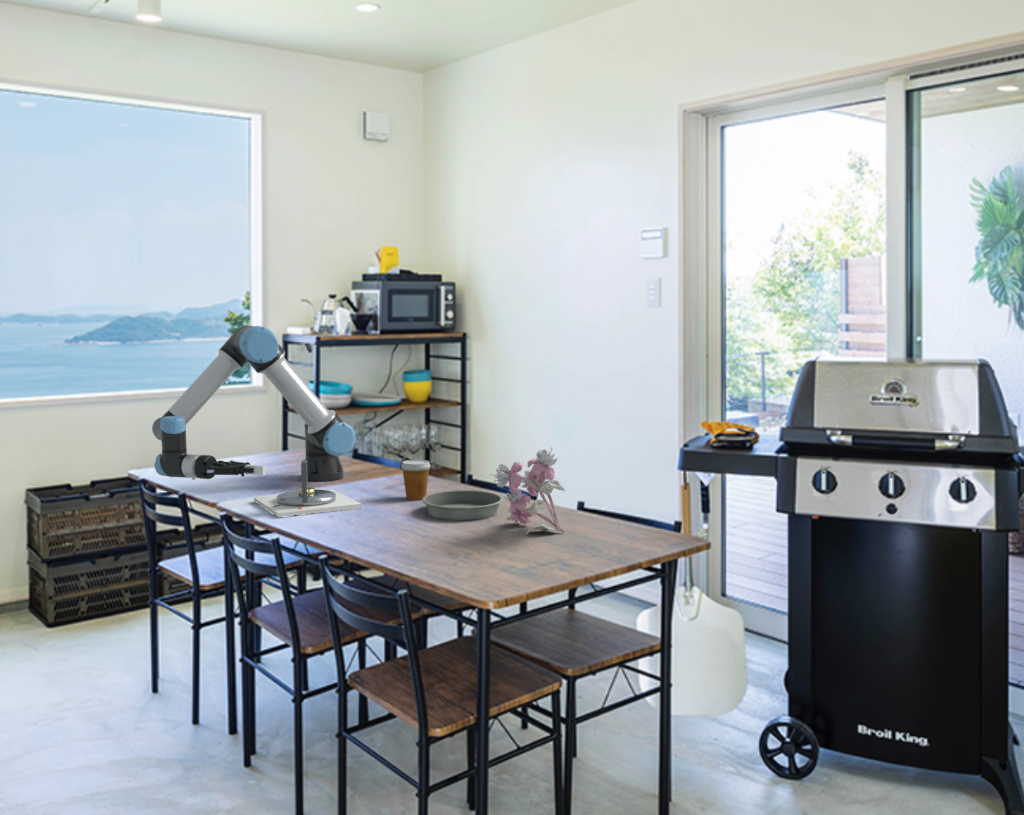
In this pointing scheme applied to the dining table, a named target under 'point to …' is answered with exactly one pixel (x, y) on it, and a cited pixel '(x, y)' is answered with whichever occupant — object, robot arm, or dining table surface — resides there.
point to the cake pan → (462, 504)
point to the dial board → (289, 510)
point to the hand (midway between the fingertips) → (264, 470)
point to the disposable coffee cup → (415, 478)
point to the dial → (305, 493)
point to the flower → (530, 489)
